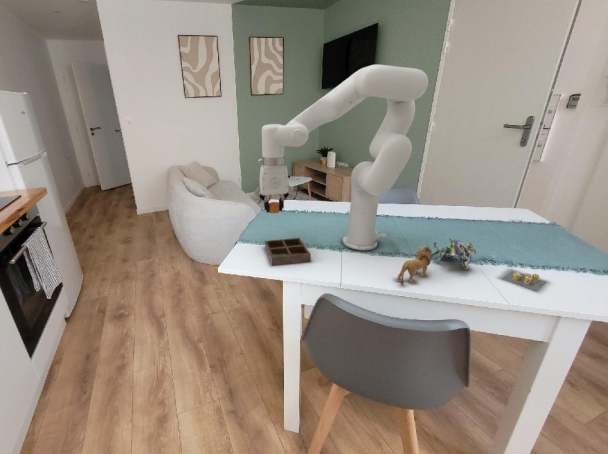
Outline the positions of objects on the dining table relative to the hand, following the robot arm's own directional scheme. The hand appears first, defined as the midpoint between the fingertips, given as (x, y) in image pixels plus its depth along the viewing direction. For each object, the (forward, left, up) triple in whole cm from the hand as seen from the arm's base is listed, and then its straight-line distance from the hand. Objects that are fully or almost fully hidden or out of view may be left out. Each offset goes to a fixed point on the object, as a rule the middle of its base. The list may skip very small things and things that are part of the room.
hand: (274, 210), depth 108 cm
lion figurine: (-38, +29, -15) cm, 50 cm away
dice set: (-68, +37, -15) cm, 79 cm away
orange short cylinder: (0, 0, 0) cm, 0 cm away
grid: (-3, +7, -15) cm, 17 cm away
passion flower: (-54, +25, -15) cm, 62 cm away
